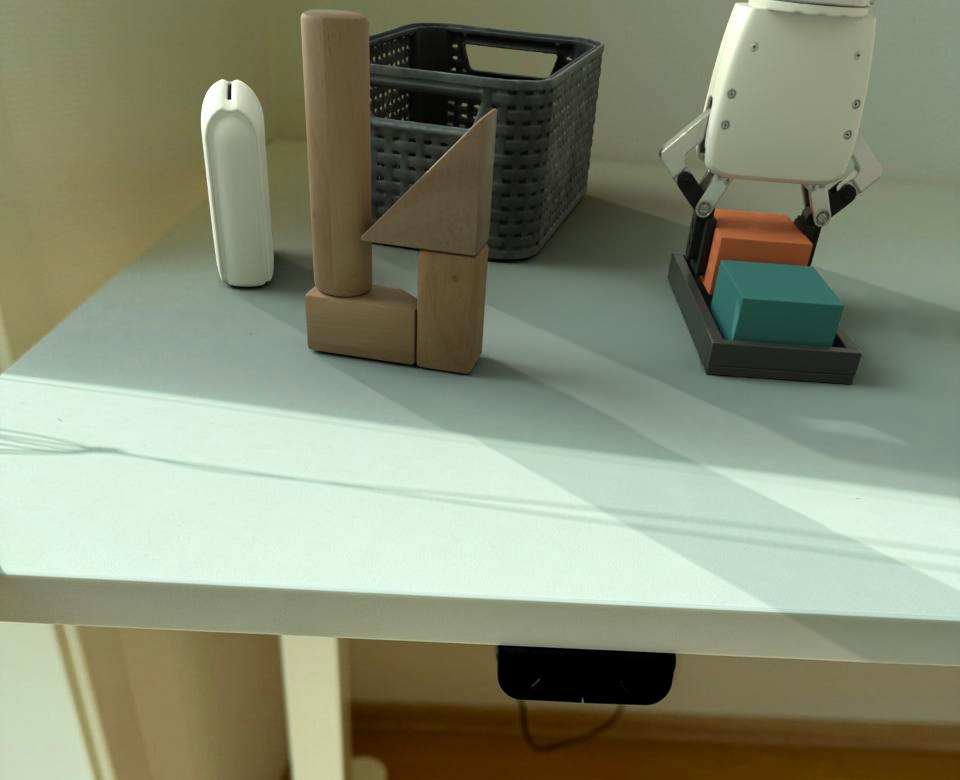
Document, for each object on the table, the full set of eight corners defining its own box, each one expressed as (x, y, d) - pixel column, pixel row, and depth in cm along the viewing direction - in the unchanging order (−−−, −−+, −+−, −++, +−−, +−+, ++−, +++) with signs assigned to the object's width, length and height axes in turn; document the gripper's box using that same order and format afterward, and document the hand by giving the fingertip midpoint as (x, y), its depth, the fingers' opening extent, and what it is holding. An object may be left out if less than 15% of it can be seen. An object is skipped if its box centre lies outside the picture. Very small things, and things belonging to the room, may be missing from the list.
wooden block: (470, 376, 57) (489, 32, 46) (306, 352, 59) (285, 11, 47) (482, 355, 60) (504, 25, 49) (326, 332, 61) (311, 6, 50)
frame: (667, 278, 75) (672, 251, 74) (783, 286, 75) (790, 259, 74) (706, 374, 60) (713, 342, 58) (852, 384, 60) (862, 353, 59)
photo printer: (219, 246, 74) (200, 68, 66) (274, 247, 75) (260, 70, 67) (215, 289, 66) (192, 93, 59) (276, 289, 67) (261, 95, 59)
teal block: (797, 322, 67) (813, 266, 64) (826, 366, 60) (845, 305, 58) (708, 316, 67) (720, 259, 64) (728, 359, 60) (742, 297, 58)
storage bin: (529, 268, 75) (546, 77, 66) (309, 235, 78) (299, 49, 70) (591, 190, 96) (610, 39, 88) (417, 167, 100) (419, 19, 91)
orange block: (773, 267, 73) (787, 214, 70) (797, 302, 67) (813, 244, 64) (692, 261, 73) (703, 207, 70) (708, 295, 67) (721, 237, 64)
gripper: (927, -10, 61) (843, 267, 72) (669, -31, 61) (625, 250, 72) (970, -1, 55) (872, 299, 67) (686, -24, 55) (635, 281, 66)
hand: (744, 271), depth 69 cm, fingers closed on orange block, 6 cm apart
